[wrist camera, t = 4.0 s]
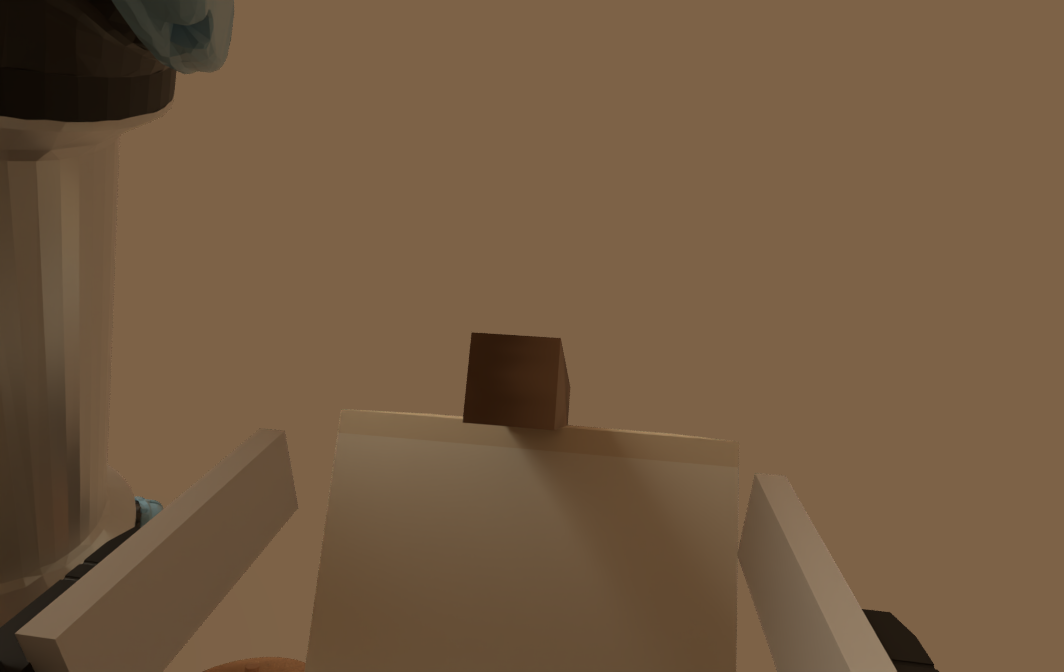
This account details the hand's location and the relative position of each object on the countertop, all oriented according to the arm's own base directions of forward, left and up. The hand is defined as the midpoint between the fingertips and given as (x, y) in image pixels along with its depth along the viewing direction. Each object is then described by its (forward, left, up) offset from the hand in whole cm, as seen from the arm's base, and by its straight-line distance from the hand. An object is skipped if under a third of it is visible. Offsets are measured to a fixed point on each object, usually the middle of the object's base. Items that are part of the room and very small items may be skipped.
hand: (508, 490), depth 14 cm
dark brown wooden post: (0, +14, +2) cm, 14 cm away
